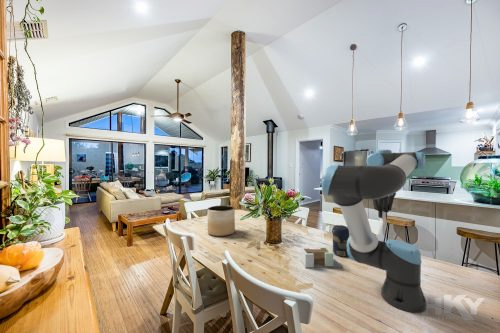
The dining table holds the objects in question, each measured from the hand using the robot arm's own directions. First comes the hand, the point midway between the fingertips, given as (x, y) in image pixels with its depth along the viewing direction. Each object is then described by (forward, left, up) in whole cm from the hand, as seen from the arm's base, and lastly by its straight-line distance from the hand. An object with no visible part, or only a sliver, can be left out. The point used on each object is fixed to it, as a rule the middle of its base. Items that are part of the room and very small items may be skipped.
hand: (382, 223), depth 114 cm
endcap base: (+8, +30, -24) cm, 39 cm away
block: (+8, +32, -24) cm, 41 cm away
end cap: (+8, +27, -24) cm, 37 cm away
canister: (+20, +13, -25) cm, 34 cm away
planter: (+65, +91, -25) cm, 115 cm away
